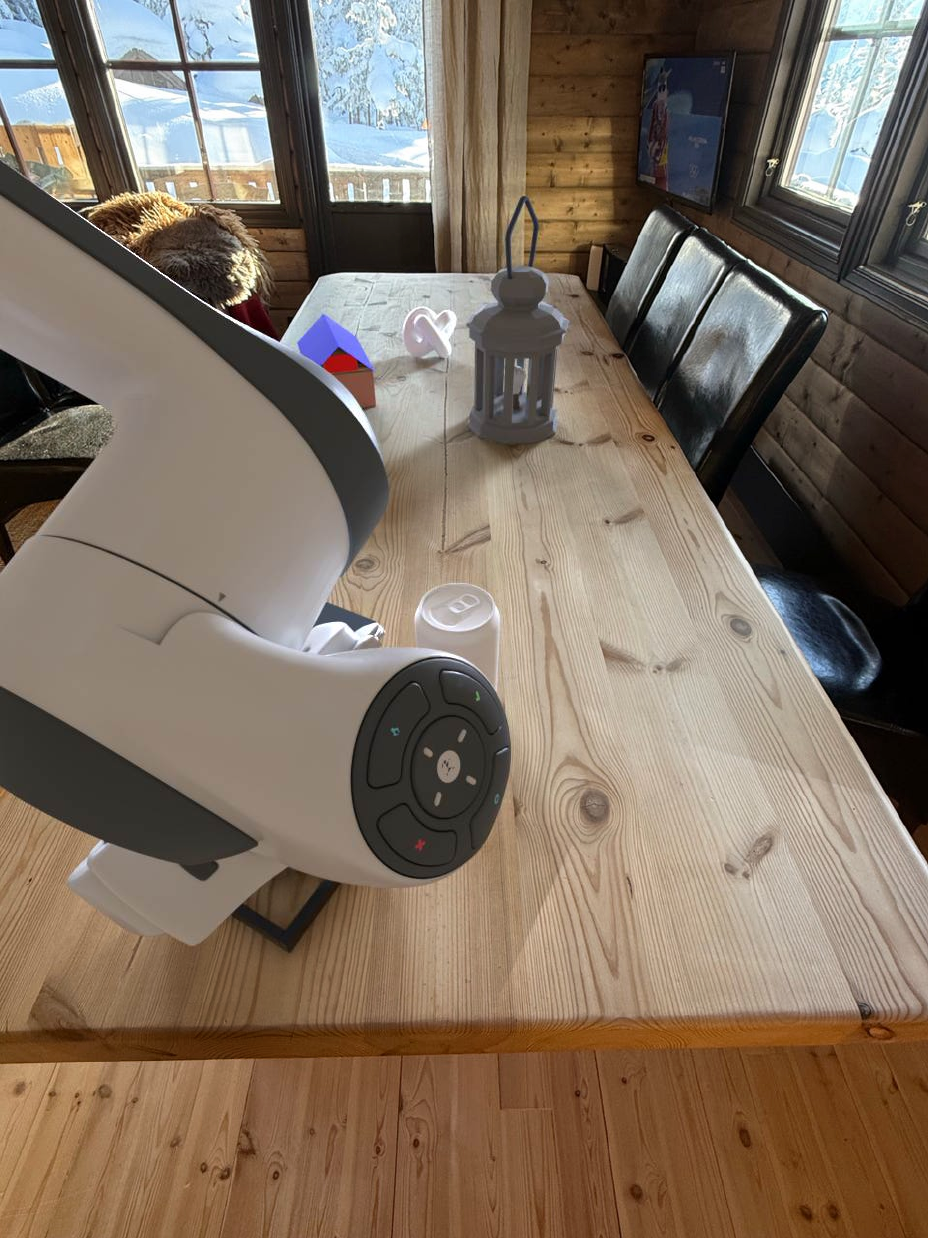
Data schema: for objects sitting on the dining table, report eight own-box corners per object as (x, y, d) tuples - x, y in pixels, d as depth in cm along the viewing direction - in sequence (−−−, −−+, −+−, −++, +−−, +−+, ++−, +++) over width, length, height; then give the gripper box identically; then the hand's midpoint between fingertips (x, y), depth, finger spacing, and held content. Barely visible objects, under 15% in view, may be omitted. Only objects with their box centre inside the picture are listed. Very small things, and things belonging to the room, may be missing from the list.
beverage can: (403, 692, 69) (395, 604, 61) (460, 655, 73) (459, 569, 66) (455, 736, 65) (454, 648, 57) (512, 695, 69) (518, 607, 61)
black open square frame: (289, 954, 49) (286, 945, 48) (176, 879, 54) (170, 869, 53) (381, 828, 57) (379, 819, 56) (275, 772, 62) (272, 762, 61)
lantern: (485, 399, 127) (489, 184, 104) (569, 412, 122) (593, 190, 99) (452, 435, 115) (449, 201, 92) (544, 451, 111) (565, 209, 88)
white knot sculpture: (465, 361, 143) (465, 317, 137) (411, 366, 140) (409, 322, 134) (452, 344, 151) (451, 302, 145) (400, 349, 148) (398, 306, 142)
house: (359, 369, 139) (353, 310, 131) (378, 406, 125) (372, 342, 117) (302, 375, 136) (292, 316, 129) (314, 414, 122) (304, 349, 114)
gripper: (360, 581, 38) (276, 618, 49) (54, 897, 27) (36, 853, 38) (429, 659, 40) (333, 678, 51) (169, 982, 29) (120, 917, 40)
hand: (203, 755), depth 44 cm, fingers open, 8 cm apart
